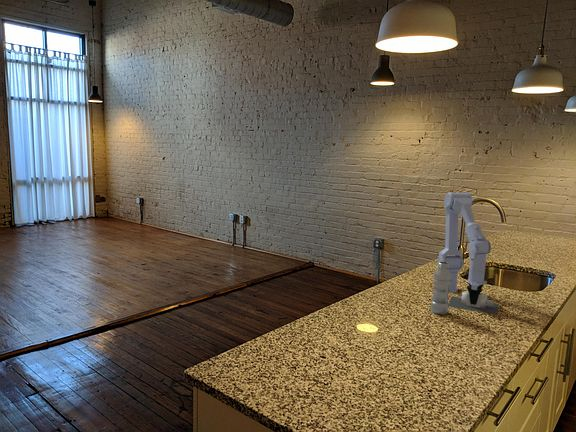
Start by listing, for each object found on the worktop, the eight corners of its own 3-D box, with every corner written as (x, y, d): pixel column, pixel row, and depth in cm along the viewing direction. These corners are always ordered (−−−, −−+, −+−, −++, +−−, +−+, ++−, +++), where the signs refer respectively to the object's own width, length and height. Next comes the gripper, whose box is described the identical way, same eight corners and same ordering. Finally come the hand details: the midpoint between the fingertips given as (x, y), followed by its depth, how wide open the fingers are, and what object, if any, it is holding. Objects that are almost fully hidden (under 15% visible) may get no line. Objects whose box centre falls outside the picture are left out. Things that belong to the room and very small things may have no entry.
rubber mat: (447, 307, 177) (447, 306, 177) (451, 297, 189) (452, 296, 189) (497, 316, 169) (497, 315, 169) (498, 305, 181) (498, 304, 181)
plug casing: (460, 304, 179) (461, 293, 178) (461, 301, 183) (462, 290, 182) (492, 310, 174) (493, 299, 173) (492, 306, 178) (494, 295, 177)
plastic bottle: (433, 309, 174) (438, 259, 171) (450, 313, 170) (455, 262, 167) (427, 313, 169) (431, 262, 166) (444, 318, 165) (449, 266, 162)
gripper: (487, 275, 169) (483, 309, 171) (489, 267, 181) (485, 298, 183) (467, 272, 172) (463, 306, 174) (470, 264, 184) (467, 295, 187)
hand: (473, 302), depth 179 cm, fingers closed on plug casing, 4 cm apart
